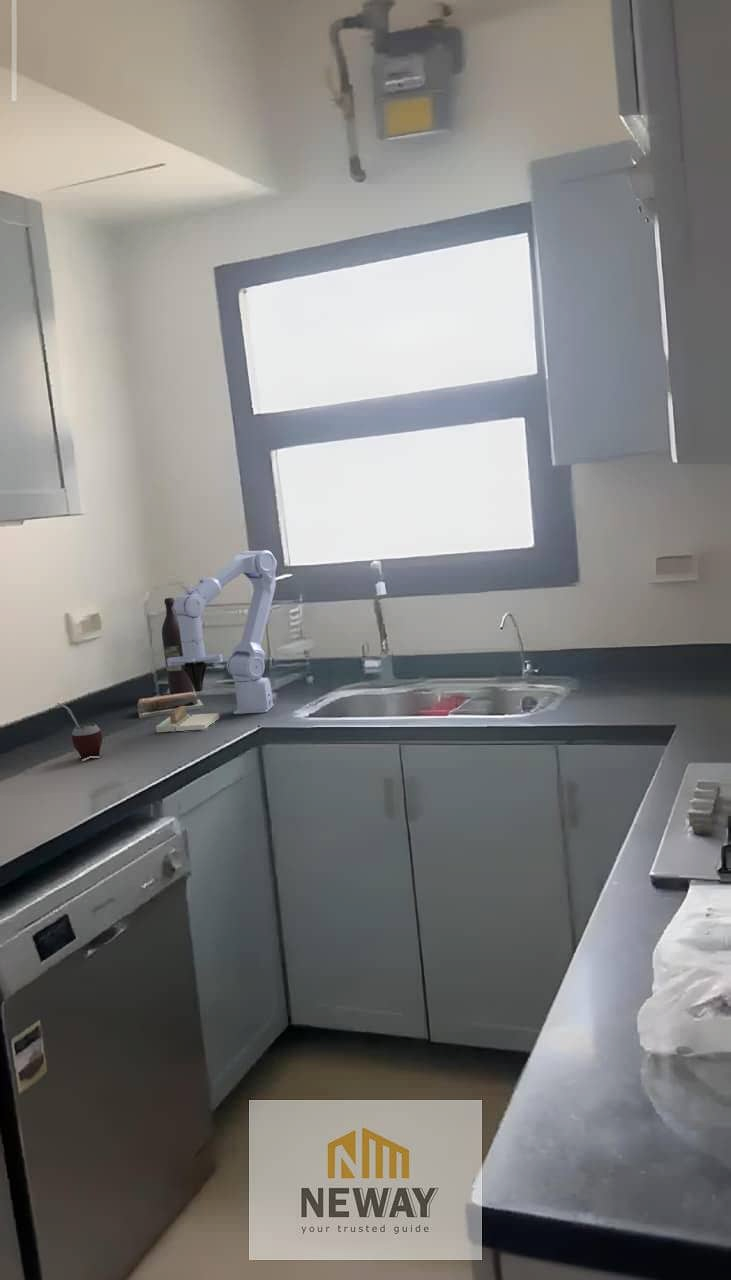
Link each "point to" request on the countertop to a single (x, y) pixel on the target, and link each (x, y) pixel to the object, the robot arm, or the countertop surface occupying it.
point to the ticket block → (197, 721)
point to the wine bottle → (174, 652)
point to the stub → (172, 720)
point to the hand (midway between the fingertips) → (198, 690)
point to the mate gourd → (85, 738)
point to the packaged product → (167, 704)
